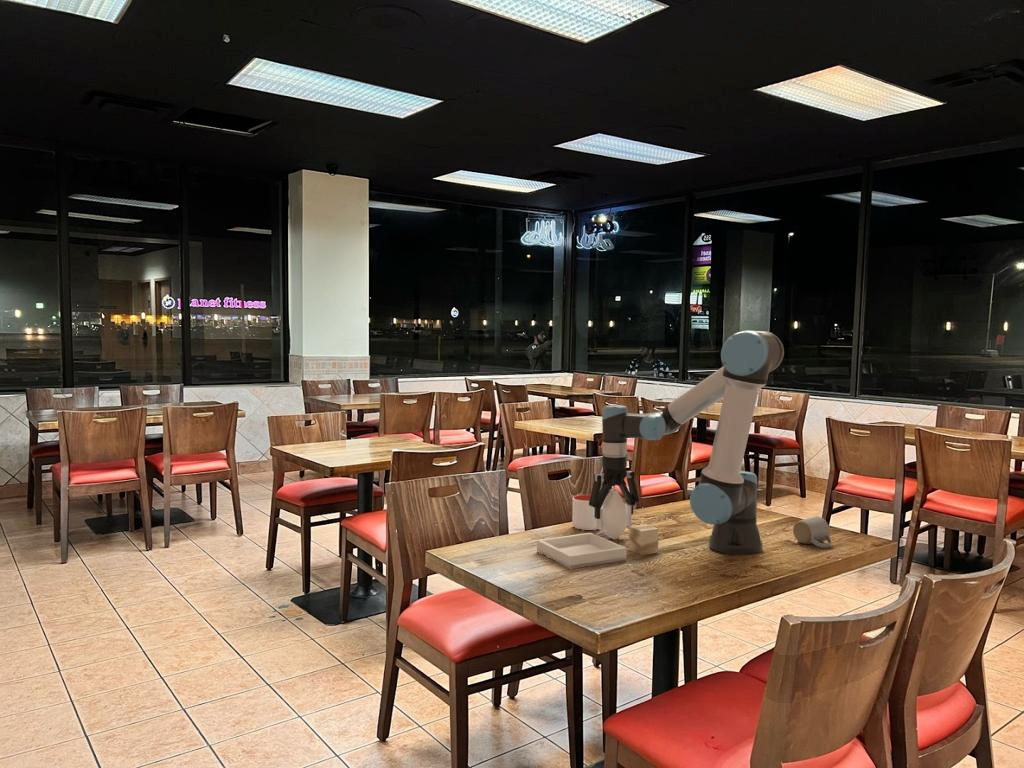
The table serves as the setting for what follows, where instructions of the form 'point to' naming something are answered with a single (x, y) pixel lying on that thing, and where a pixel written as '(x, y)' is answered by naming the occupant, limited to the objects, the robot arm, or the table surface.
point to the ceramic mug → (812, 531)
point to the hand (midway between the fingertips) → (613, 526)
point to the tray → (581, 550)
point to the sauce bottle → (614, 515)
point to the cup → (583, 513)
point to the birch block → (643, 539)
